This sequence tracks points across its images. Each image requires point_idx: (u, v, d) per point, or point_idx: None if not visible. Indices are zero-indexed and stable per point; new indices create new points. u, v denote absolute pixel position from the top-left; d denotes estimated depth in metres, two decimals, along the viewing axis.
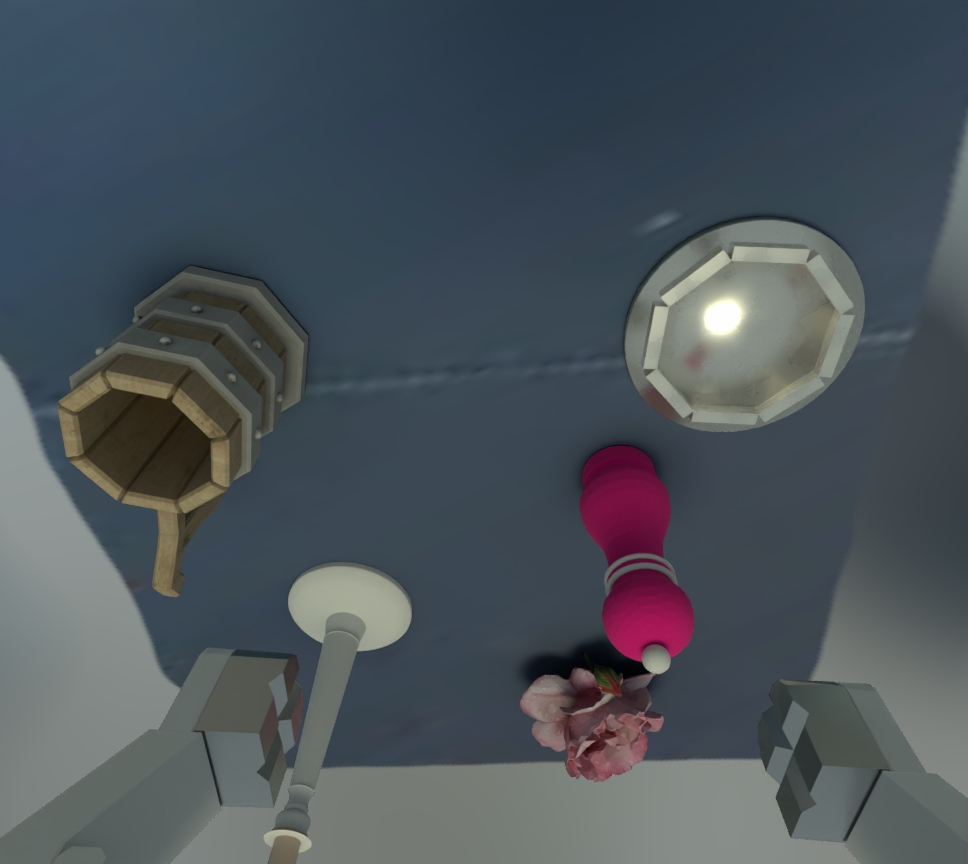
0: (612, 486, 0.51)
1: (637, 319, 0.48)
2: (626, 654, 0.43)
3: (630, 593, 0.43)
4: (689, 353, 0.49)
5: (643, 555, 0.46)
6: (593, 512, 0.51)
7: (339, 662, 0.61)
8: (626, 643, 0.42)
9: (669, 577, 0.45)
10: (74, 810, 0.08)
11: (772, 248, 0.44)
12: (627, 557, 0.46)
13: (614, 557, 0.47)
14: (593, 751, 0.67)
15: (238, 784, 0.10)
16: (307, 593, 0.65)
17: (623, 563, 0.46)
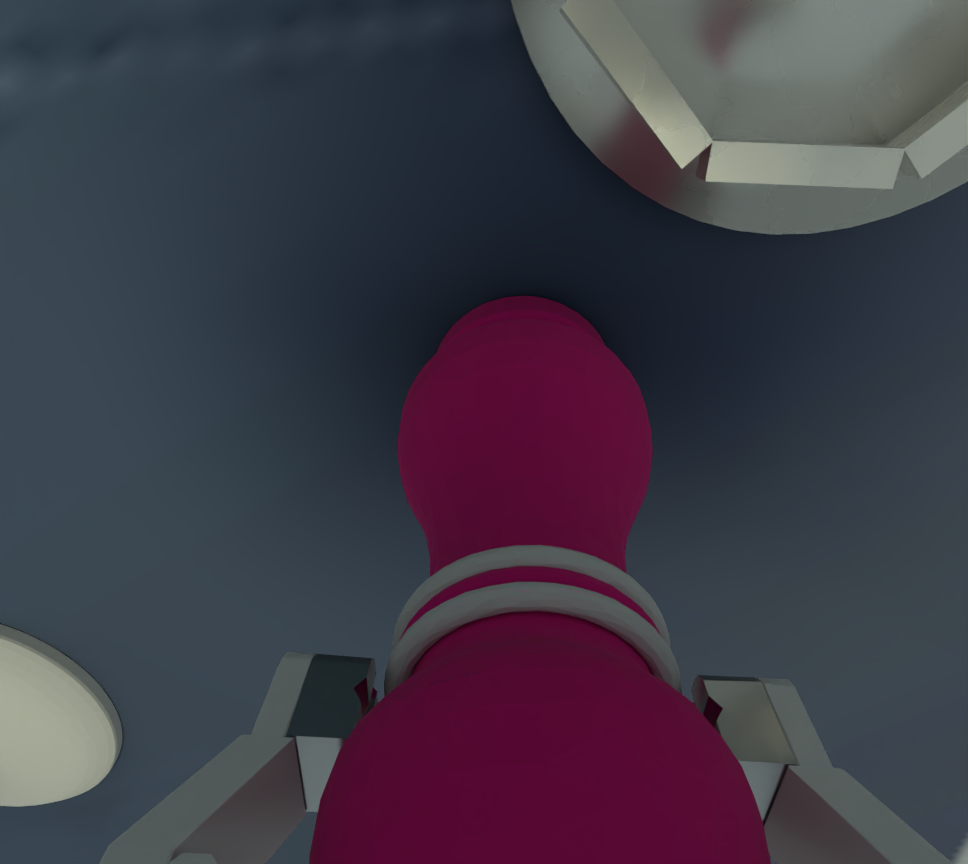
0: (470, 359, 0.16)
1: None
2: None
3: (415, 742, 0.08)
4: None
5: (531, 553, 0.11)
6: (414, 443, 0.16)
7: None
8: None
9: (643, 650, 0.10)
10: (179, 816, 0.08)
11: None
12: (466, 563, 0.11)
13: (438, 570, 0.13)
14: None
15: None
16: None
17: (449, 587, 0.11)
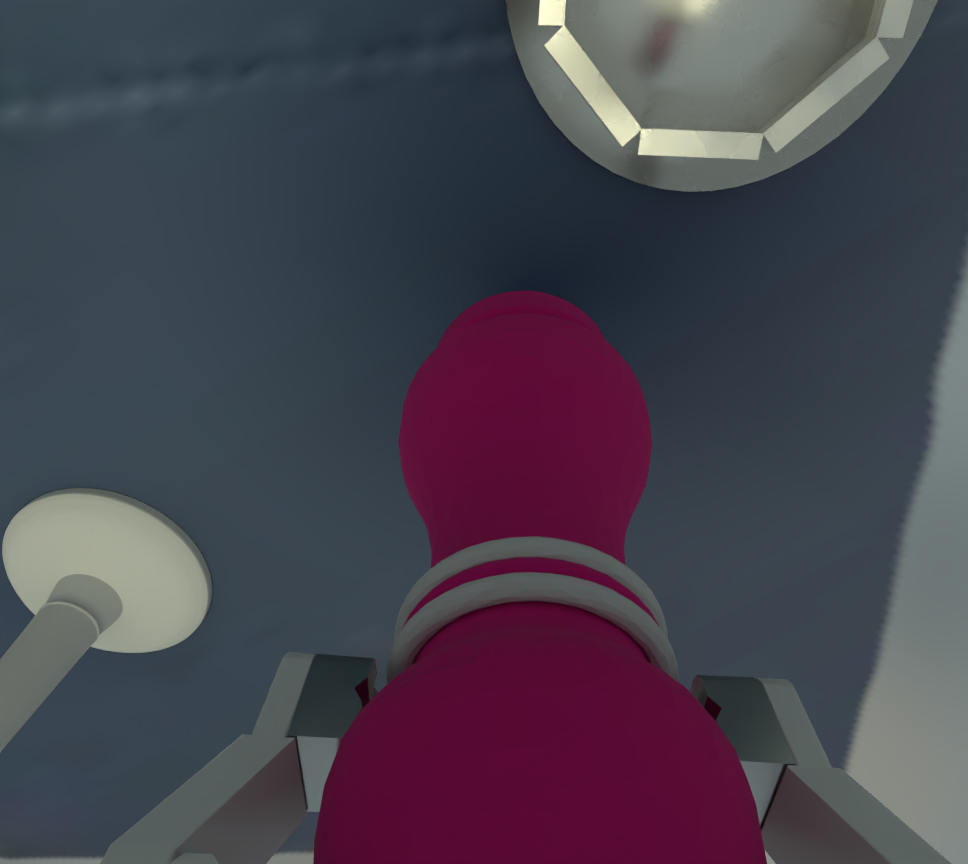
0: (468, 354, 0.17)
1: None
2: None
3: (413, 728, 0.08)
4: (627, 3, 0.26)
5: (528, 545, 0.11)
6: (414, 438, 0.17)
7: (37, 651, 0.34)
8: None
9: (639, 638, 0.10)
10: (180, 816, 0.08)
11: None
12: (464, 555, 0.11)
13: (439, 562, 0.13)
14: None
15: None
16: (21, 541, 0.39)
17: (448, 579, 0.11)
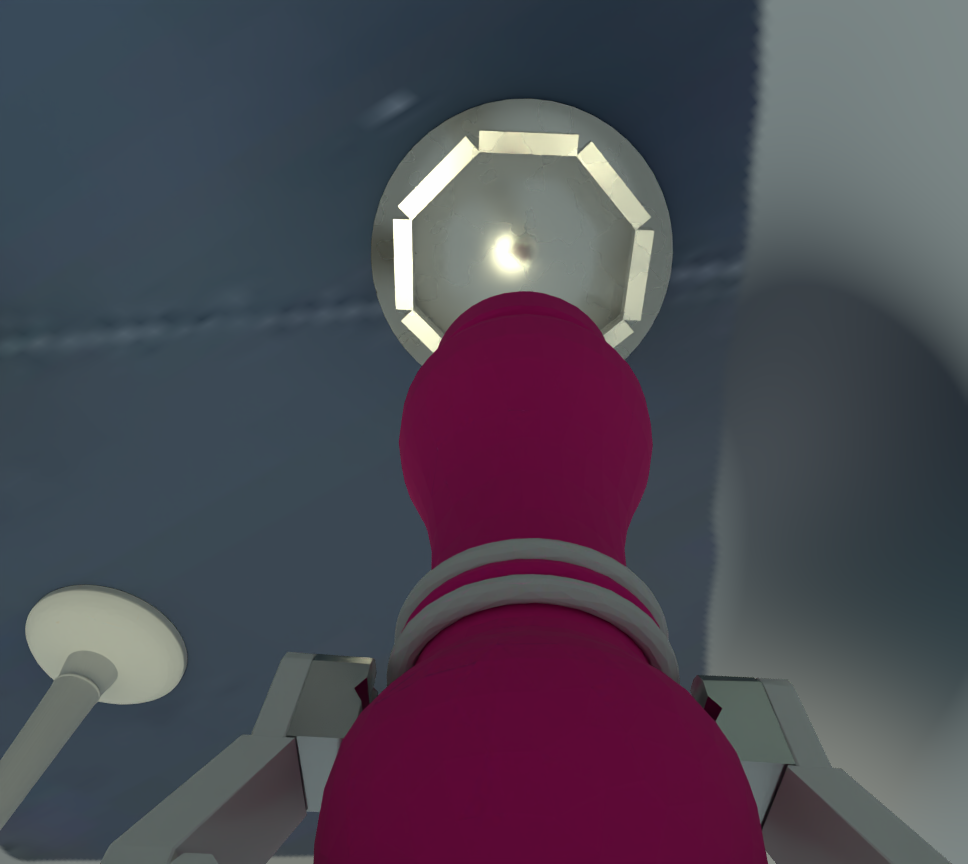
0: (469, 355, 0.17)
1: (381, 242, 0.37)
2: None
3: (413, 731, 0.08)
4: (458, 291, 0.38)
5: (528, 546, 0.11)
6: (415, 439, 0.17)
7: (54, 715, 0.47)
8: None
9: (640, 640, 0.10)
10: (180, 816, 0.08)
11: (529, 133, 0.33)
12: (464, 557, 0.11)
13: None
14: None
15: None
16: (40, 625, 0.51)
17: (447, 581, 0.11)
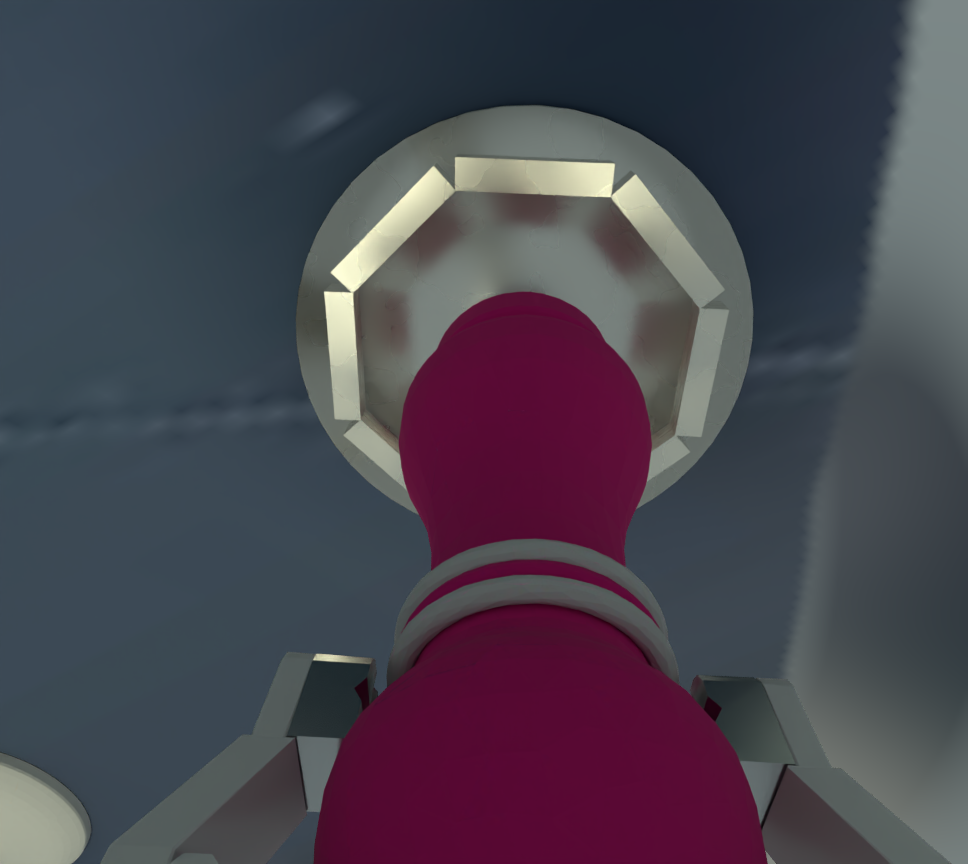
0: (468, 356, 0.17)
1: (311, 322, 0.24)
2: None
3: (414, 731, 0.08)
4: None
5: (528, 547, 0.11)
6: (414, 440, 0.17)
7: None
8: None
9: (639, 640, 0.10)
10: (180, 816, 0.08)
11: (535, 162, 0.21)
12: (464, 558, 0.11)
13: (439, 565, 0.13)
14: None
15: None
16: None
17: (448, 581, 0.11)
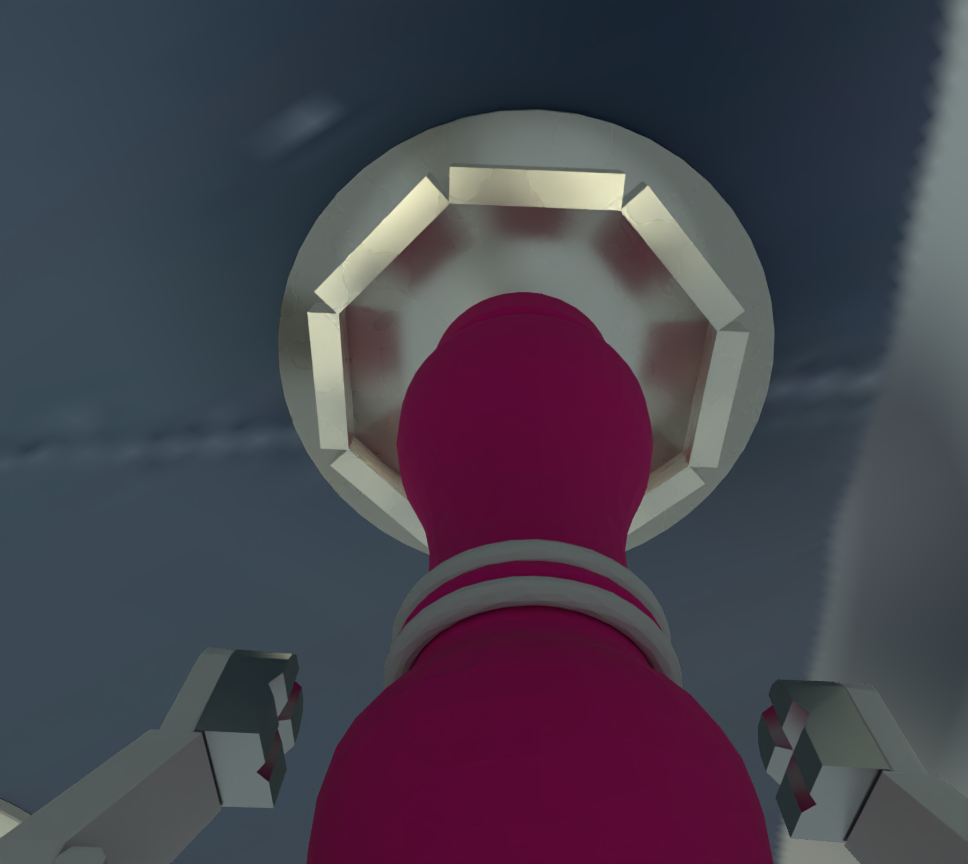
0: (467, 356, 0.16)
1: (295, 344, 0.22)
2: None
3: (409, 737, 0.07)
4: None
5: (527, 548, 0.11)
6: (412, 441, 0.16)
7: None
8: None
9: (641, 643, 0.10)
10: (74, 810, 0.08)
11: (538, 172, 0.19)
12: (462, 559, 0.11)
13: (437, 567, 0.12)
14: None
15: (238, 784, 0.10)
16: None
17: (445, 583, 0.11)
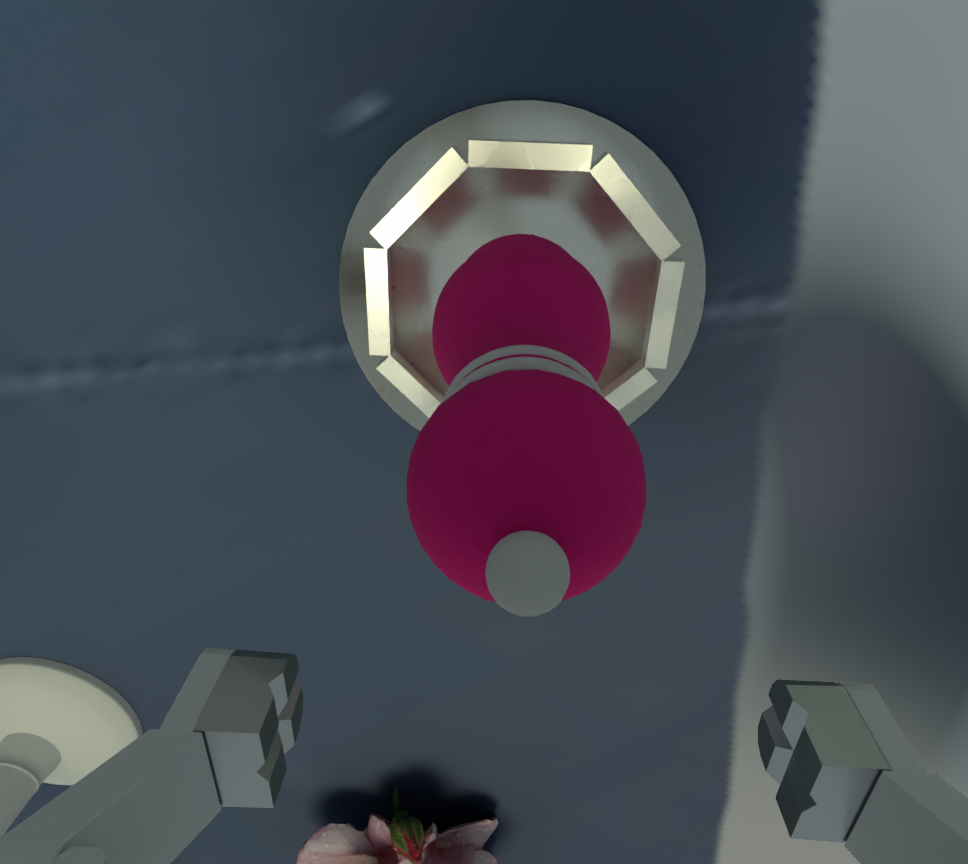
0: (482, 266, 0.24)
1: (351, 275, 0.30)
2: (461, 580, 0.16)
3: (462, 399, 0.15)
4: None
5: (521, 348, 0.18)
6: (445, 323, 0.24)
7: None
8: (450, 537, 0.15)
9: None
10: (74, 810, 0.08)
11: (531, 144, 0.26)
12: (484, 356, 0.19)
13: None
14: None
15: (238, 784, 0.10)
16: None
17: (474, 369, 0.18)
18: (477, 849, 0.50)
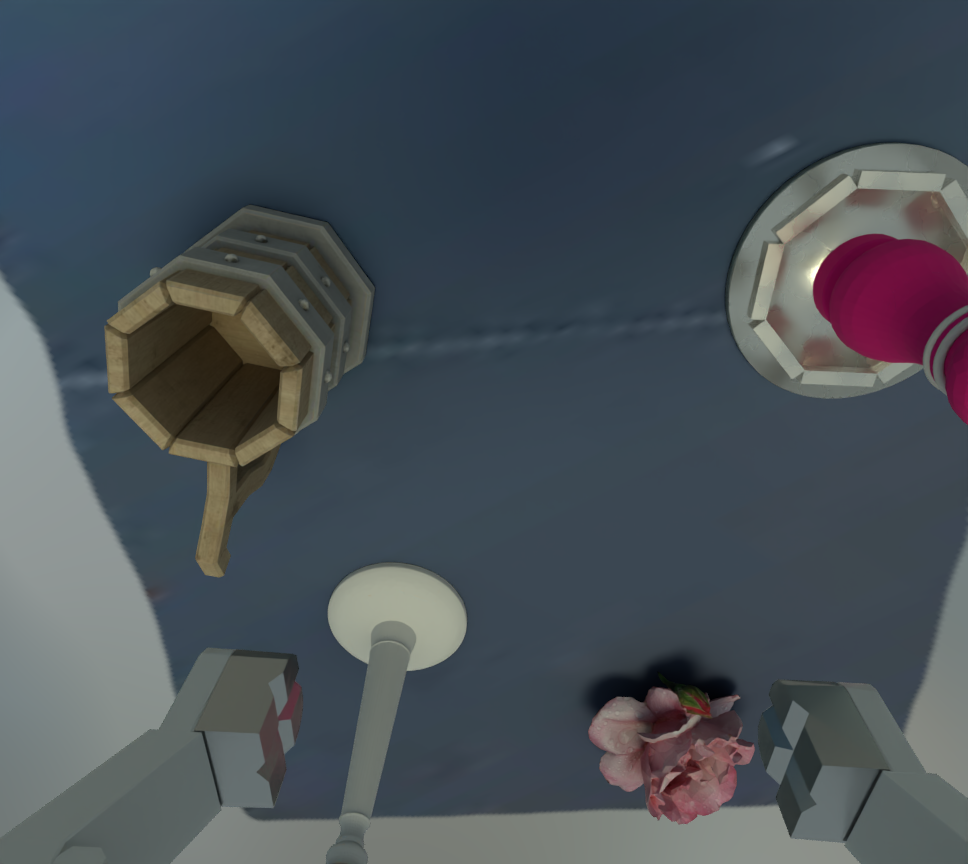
0: (895, 254, 0.37)
1: (745, 262, 0.43)
2: None
3: None
4: (801, 304, 0.44)
5: None
6: (870, 292, 0.37)
7: (391, 674, 0.53)
8: None
9: None
10: (74, 810, 0.08)
11: (904, 173, 0.39)
12: None
13: (934, 322, 0.33)
14: (677, 786, 0.58)
15: (238, 784, 0.10)
16: (351, 598, 0.58)
17: (965, 313, 0.31)
18: None
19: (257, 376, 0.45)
